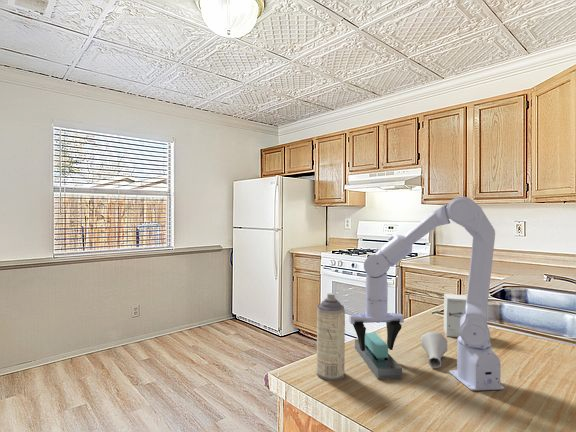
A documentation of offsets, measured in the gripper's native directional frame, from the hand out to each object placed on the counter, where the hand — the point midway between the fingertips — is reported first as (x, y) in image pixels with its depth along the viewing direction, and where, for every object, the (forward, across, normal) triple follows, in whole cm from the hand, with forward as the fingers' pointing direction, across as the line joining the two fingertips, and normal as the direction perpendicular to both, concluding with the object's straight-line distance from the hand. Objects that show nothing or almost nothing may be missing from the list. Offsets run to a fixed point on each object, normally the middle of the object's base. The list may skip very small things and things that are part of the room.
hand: (376, 349), depth 97 cm
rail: (+3, 0, 0) cm, 3 cm away
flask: (0, -18, -4) cm, 18 cm away
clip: (+3, 0, 0) cm, 3 cm away
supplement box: (+4, -34, -19) cm, 39 cm away
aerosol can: (+4, +14, +6) cm, 16 cm away
